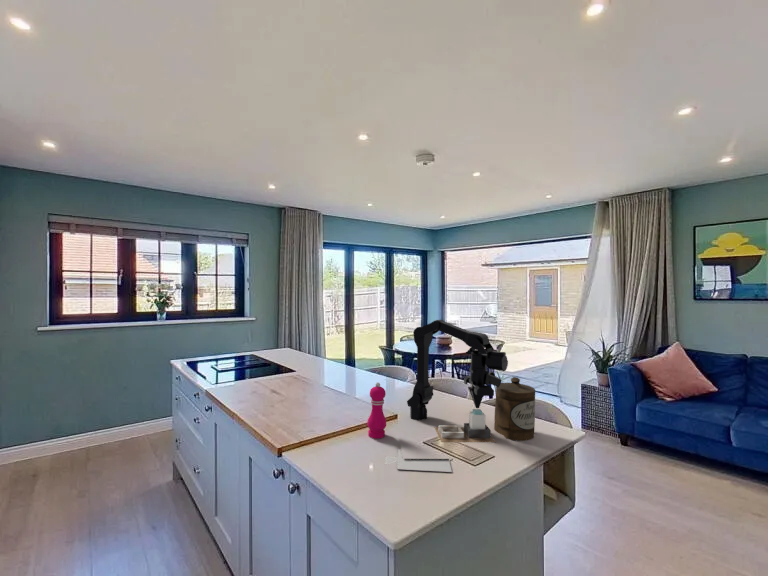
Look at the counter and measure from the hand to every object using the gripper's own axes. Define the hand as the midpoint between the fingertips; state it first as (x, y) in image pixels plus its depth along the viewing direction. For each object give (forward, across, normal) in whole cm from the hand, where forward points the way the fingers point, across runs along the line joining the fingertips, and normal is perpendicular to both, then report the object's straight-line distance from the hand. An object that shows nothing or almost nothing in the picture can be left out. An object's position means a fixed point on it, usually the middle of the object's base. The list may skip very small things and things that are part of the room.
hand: (477, 408), depth 142 cm
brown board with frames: (+11, 0, +5) cm, 12 cm away
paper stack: (+12, -24, +28) cm, 39 cm away
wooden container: (+11, +4, -16) cm, 20 cm away
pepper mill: (+11, +1, +38) cm, 40 cm away
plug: (+10, 0, 0) cm, 10 cm away
